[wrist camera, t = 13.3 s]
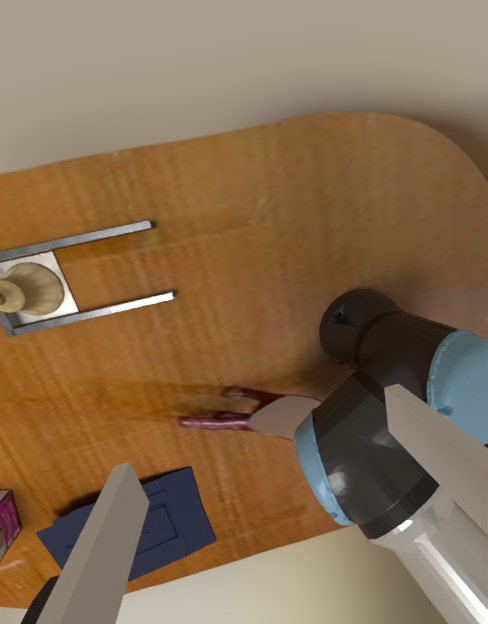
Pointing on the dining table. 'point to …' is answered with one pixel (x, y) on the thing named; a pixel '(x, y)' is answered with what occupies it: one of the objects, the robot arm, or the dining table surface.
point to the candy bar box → (7, 522)
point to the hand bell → (30, 290)
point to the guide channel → (16, 319)
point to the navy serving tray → (147, 526)
